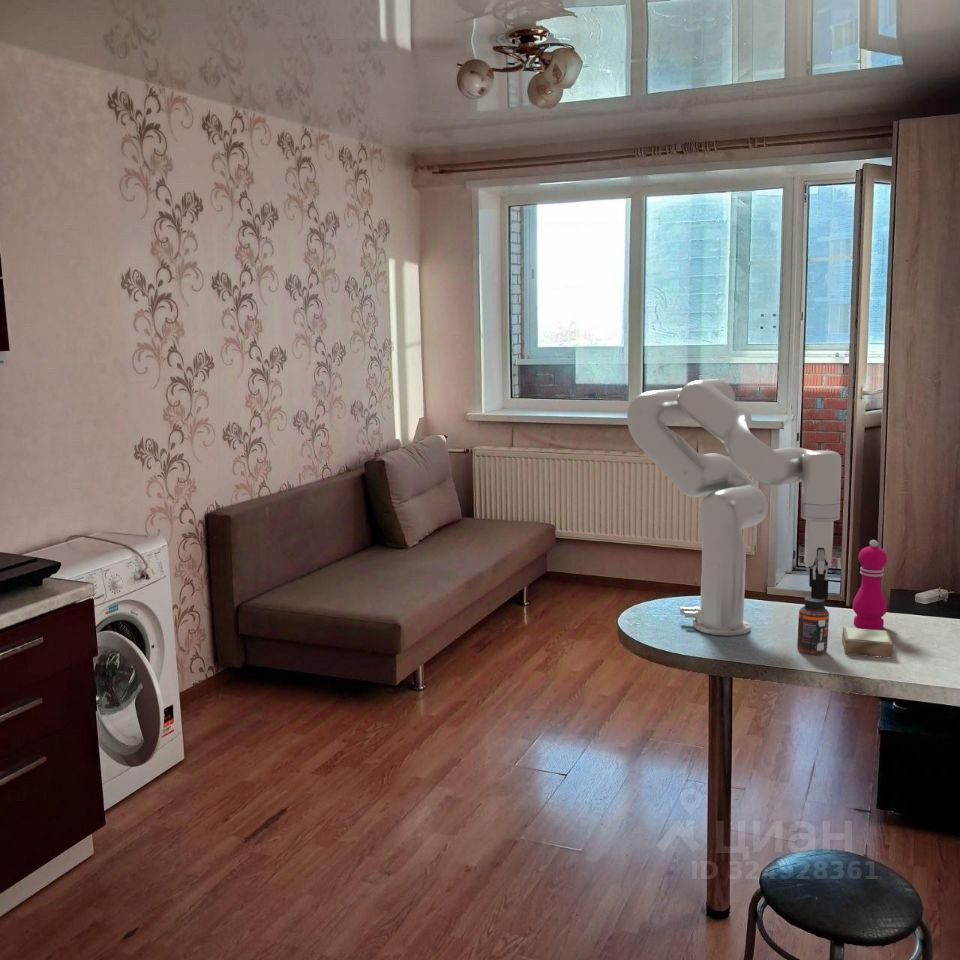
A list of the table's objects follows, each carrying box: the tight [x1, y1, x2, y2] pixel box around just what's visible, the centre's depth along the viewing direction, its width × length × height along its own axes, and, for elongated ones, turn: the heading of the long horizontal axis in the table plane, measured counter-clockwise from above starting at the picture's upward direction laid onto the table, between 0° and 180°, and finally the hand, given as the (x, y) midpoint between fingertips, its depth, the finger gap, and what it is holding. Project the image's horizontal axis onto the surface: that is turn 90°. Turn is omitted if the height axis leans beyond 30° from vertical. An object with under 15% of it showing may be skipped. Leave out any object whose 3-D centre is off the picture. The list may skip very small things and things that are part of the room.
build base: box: [841, 627, 894, 658], centre depth 203 cm, size 9×9×3 cm
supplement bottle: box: [796, 596, 830, 656], centre depth 201 cm, size 6×6×11 cm
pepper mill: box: [852, 539, 888, 630], centre depth 218 cm, size 7×7×20 cm
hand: (818, 592), depth 200 cm, fingers open, 9 cm apart
